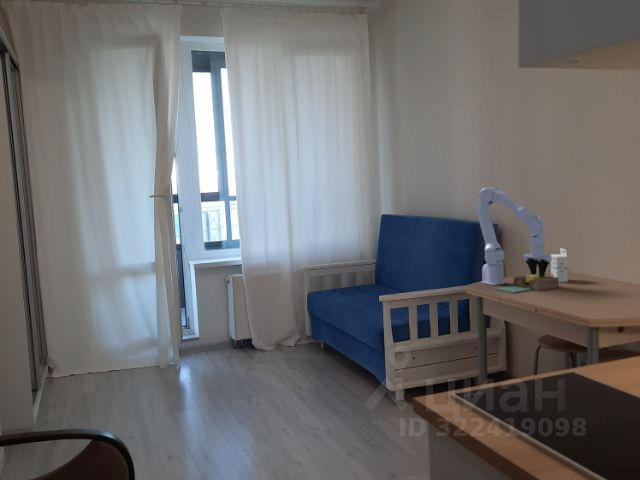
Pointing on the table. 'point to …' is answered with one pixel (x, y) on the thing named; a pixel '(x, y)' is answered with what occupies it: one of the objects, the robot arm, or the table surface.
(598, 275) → the table surface
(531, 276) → the slab
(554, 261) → the ink cartridge box
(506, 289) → the mat
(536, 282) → the pocket board
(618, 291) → the table surface
